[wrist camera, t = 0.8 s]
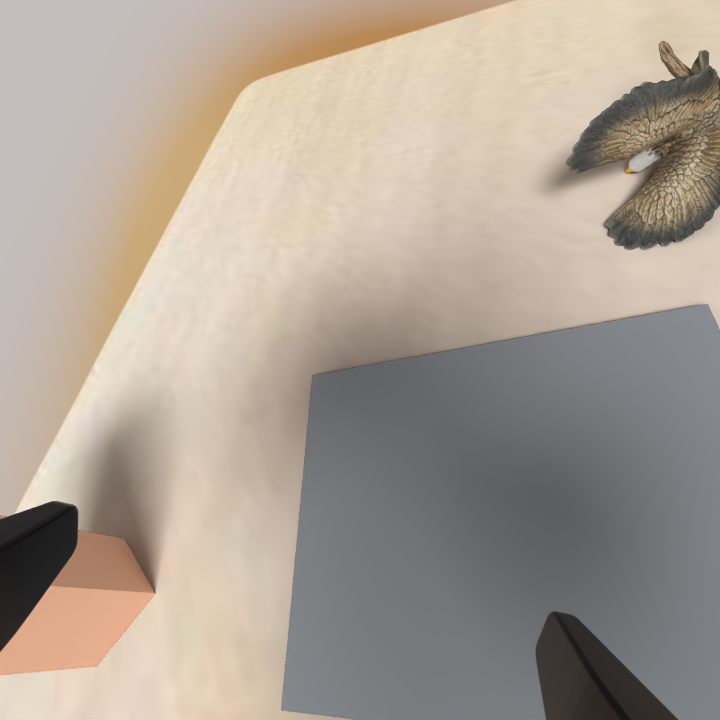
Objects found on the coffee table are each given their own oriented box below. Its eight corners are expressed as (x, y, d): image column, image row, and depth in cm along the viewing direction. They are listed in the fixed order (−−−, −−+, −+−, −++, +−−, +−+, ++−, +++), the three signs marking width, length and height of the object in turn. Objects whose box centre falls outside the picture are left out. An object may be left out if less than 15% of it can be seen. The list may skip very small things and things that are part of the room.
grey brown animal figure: (608, 105, 27) (531, 187, 24) (717, -26, 20) (629, 64, 17) (708, 184, 26) (642, 278, 23) (855, 76, 19) (789, 189, 16)
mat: (926, 784, 12) (936, 788, 11) (286, 708, 19) (281, 710, 18) (705, 308, 20) (707, 303, 20) (315, 378, 27) (312, 375, 26)
